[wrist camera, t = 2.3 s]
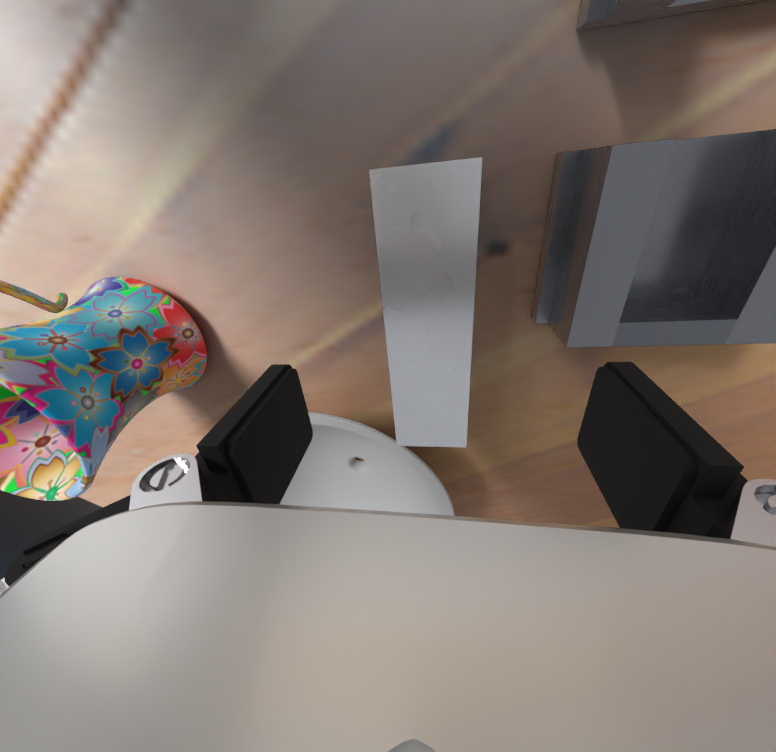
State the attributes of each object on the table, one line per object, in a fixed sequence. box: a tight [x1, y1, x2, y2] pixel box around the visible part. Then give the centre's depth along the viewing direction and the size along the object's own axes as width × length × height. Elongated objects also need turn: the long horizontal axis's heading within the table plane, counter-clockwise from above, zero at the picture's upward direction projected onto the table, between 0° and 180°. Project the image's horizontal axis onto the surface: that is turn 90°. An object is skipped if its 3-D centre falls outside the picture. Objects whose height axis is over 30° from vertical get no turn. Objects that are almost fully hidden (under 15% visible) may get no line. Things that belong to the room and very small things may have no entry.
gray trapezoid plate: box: [369, 157, 482, 447], centre depth 16 cm, size 12×4×7 cm, turn 5°
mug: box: [0, 277, 207, 501], centre depth 18 cm, size 12×9×11 cm
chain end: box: [531, 129, 776, 348], centre depth 14 cm, size 8×10×4 cm
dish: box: [280, 412, 455, 516], centre depth 25 cm, size 18×14×5 cm
